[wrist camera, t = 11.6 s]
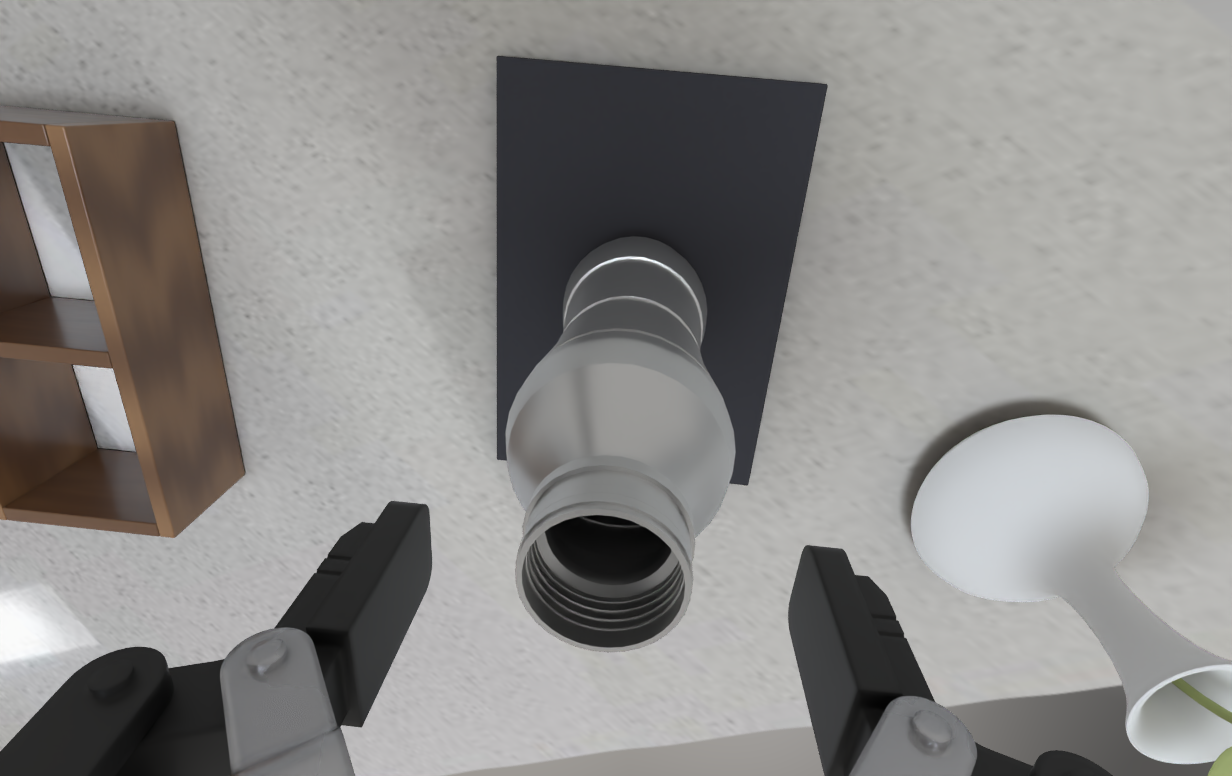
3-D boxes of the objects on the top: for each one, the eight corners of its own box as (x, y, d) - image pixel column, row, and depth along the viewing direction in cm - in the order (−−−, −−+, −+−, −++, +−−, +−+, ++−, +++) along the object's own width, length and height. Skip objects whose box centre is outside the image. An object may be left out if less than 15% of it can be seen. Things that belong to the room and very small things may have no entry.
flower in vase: (891, 577, 37) (1246, 1315, 15) (911, 405, 33) (1476, 1098, 10) (1126, 571, 36) (1909, 1367, 13) (1182, 392, 31) (2528, 1149, 9)
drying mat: (499, 56, 27) (496, 55, 27) (824, 84, 27) (828, 84, 26) (499, 454, 36) (496, 459, 35) (746, 479, 35) (748, 485, 35)
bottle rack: (-26, 102, 29) (-181, 104, 24) (174, 120, 29) (63, 126, 24) (88, 458, 38) (-9, 518, 32) (245, 474, 37) (175, 538, 32)
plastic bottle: (688, 211, 29) (736, 403, 11) (715, 346, 31) (789, 684, 13) (554, 243, 30) (389, 468, 12) (590, 372, 32) (502, 718, 14)
